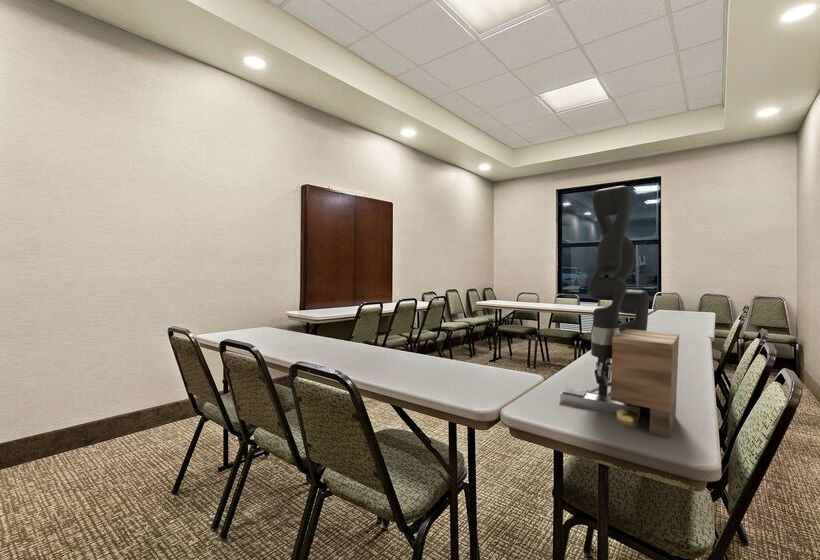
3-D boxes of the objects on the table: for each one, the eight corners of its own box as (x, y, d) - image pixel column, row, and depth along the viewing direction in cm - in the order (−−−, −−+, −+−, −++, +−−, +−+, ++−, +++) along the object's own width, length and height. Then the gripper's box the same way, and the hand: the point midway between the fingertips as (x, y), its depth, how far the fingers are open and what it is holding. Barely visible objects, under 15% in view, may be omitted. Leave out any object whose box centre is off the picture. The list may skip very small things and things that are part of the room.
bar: (564, 397, 123) (564, 386, 123) (640, 412, 111) (641, 400, 111) (560, 403, 118) (560, 391, 118) (639, 419, 106) (639, 406, 106)
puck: (618, 419, 105) (618, 408, 105) (639, 424, 102) (639, 412, 102) (614, 424, 101) (614, 413, 101) (636, 430, 98) (636, 418, 98)
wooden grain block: (623, 405, 116) (626, 328, 115) (675, 416, 108) (679, 334, 107) (609, 424, 101) (612, 337, 100) (668, 439, 93) (672, 344, 92)
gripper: (597, 337, 127) (595, 388, 128) (586, 342, 117) (584, 398, 118) (622, 340, 123) (620, 393, 123) (613, 346, 112) (611, 404, 113)
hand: (602, 396), depth 120 cm, fingers closed
